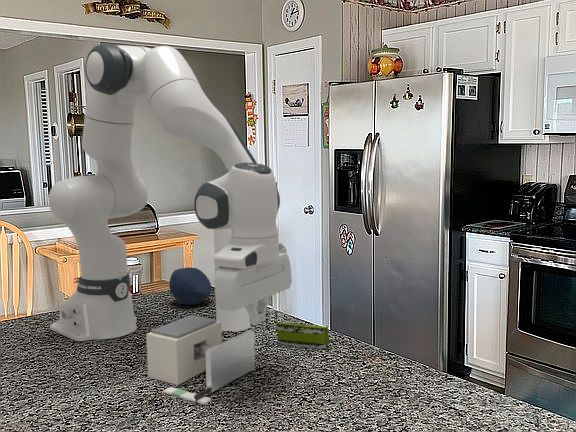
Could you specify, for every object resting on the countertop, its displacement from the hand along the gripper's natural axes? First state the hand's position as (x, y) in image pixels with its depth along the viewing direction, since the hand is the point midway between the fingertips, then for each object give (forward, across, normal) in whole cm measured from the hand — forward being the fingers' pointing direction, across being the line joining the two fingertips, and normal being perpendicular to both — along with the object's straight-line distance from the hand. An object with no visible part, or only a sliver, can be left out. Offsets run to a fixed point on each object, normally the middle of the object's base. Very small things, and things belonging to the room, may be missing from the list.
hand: (257, 322), depth 117 cm
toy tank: (+13, -26, -9) cm, 30 cm away
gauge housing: (+13, +2, -13) cm, 19 cm away
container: (+13, -28, -28) cm, 41 cm away
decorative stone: (+13, -38, -50) cm, 65 cm away
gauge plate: (+13, +2, -12) cm, 17 cm away
